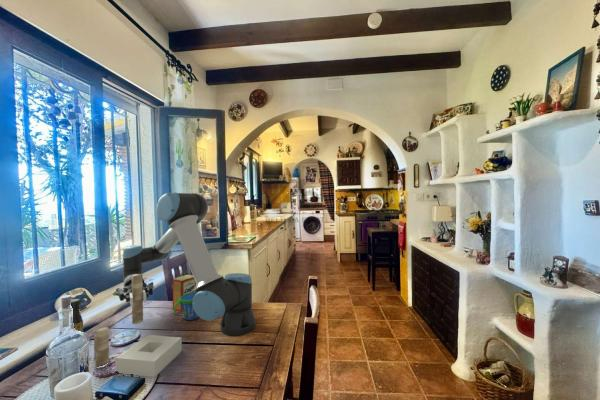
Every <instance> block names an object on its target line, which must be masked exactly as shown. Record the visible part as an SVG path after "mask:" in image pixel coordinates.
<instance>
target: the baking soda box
mask: <svg viewBox="0 0 600 400" xmlns="http://www.w3.org/2000/svg"><path fill="white" fill-rule="evenodd" d="M195 287H196V282H195V279H194V277H193V274H185V275H180V276H178V277H174V278H173V279H172V311H174V305H175V303H176V302H177V301H178V300H179V299H180V297H181V296H182V295H185V294H188V293H193V292H195V291H194V289H195ZM175 309H176V312H180V313H182V307H181V304H180V302H179V303H178V304H177V305H176V308H175Z"/></svg>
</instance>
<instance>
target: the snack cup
mask: <svg viewBox="0 0 600 400" xmlns="http://www.w3.org/2000/svg"><path fill="white" fill-rule="evenodd" d="M194 296H195V292H193V293H188V294H185V295H182V296H181V297H180V299H179V300H178V301H177V302H176V303H175V305H174V310H173V312H174V315H175V316H177V311H176V309H175V308H176V305H177V304H178V303H179V302H180V304H181V307H182V312H181V313H182V317H183V319H184V320H185V321H192V320H196V319H198V318H200V317H199V316H198V315H197V314H196V313H195V311H194V309H193V304H192V303H193V297H194Z"/></svg>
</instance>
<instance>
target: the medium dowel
mask: <svg viewBox="0 0 600 400" xmlns="http://www.w3.org/2000/svg"><path fill="white" fill-rule="evenodd" d="M109 330H110V328H109V327H108V326H107V327H106V326H104V327H100V328H99V329H96V330H95V335H96V360H95V368H96V367H99V366H103V365H105V364H107V363H108V362H109V363H110V361H109V360H110V356H109V355H110V348H109V347H110V345H109V343H110V340H109V339H110V333H109V332H110V331H109Z"/></svg>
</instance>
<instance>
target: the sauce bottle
mask: <svg viewBox="0 0 600 400" xmlns="http://www.w3.org/2000/svg"><path fill="white" fill-rule="evenodd" d="M70 300H71V306H72V308H73V323H74V328H75V329H76V330H78V331H81V332H83V333H84V320H83V317H82V314H81V313H80V304H81V299H80V298H74V299H73V298H72V299H70Z"/></svg>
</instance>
